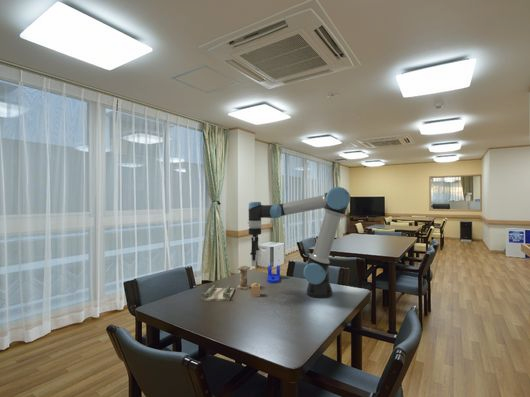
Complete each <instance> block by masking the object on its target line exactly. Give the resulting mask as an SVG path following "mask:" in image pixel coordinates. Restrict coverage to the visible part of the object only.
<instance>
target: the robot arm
mask: <svg viewBox="0 0 530 397" xmlns="http://www.w3.org/2000/svg"><path fill="white" fill-rule="evenodd" d="M350 202H351V195H350V193H349V192H348V190H347V189H345V188H344V187H342V186H335V187H333V188H330V189H329V190H328V192H325V193H324V194H322V195H317V196H313V197H307V198H304V199H298V200H294V201H289V202H284V203H279V204H262V202H261V201H250V202H249V203H248V209H247V210H248V221H247V224H248V235H251V236H252V237H251V249H250V250H251V252H250V256H251V267H257V262H259V251H260V248H259V235H261V234H262V228H261V227H262V219H265V218H266V219H279V218H281V217H285V216H289V215H295V214H299V213H305V212H310V211H315V210H321V209H323V210H324V216H323V220H322V223H321V227H320V230H319V232H318V235H317V238H316V242H315V246H314V249H313V251H312V253H311V254H309V256H308V257H307V258H308V259H307V262H306V265H305V266H304V268H303V277H304V279H305V281H306V282H308V284H307V288H306V295H307V296H309V297H312V298H317V299H325V298H331V297H332V296H333V289H332V286H331V283H330V263H331V261H330V258H329V257H330V253H331V250H332V247H333V244H334V241H335V238H336V234H337V231H338V229H339V225H340V221H341V218H342V217H344V216H346V212H347V209H348V206H349V204H350Z"/></svg>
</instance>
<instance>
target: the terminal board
mask: <svg viewBox="0 0 530 397" xmlns="http://www.w3.org/2000/svg"><path fill="white" fill-rule="evenodd" d="M235 291H236V287H231V285H230V284H227V286H226V287H216V284H212V286H211V287H209V288H208V290H206V292H201V298H200V300H201V302H202V301H203V302H204V301H205V302H206V301H207V302H215V301H216V302H230V300H231V298H232V296H233V294H234V292H235Z"/></svg>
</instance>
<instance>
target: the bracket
mask: <svg viewBox="0 0 530 397" xmlns="http://www.w3.org/2000/svg"><path fill="white" fill-rule="evenodd" d="M272 271H273V270H272V265H269V264H268V265H267V278H266V283H267V284H278V283H280V279H281V265H276V273H273V272H272Z"/></svg>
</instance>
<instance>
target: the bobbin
mask: <svg viewBox="0 0 530 397" xmlns="http://www.w3.org/2000/svg"><path fill="white" fill-rule="evenodd" d="M236 268H237V271H239V275H240V276H239V277H240V278H239V280H240V281H239V282H240V283H239V285H237V289H238V290H249V289H251V285H250V284H248V271H249V270H250V269H251V267H250V266H247V265H242V266H240V265H239V266H238V267H236Z"/></svg>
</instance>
